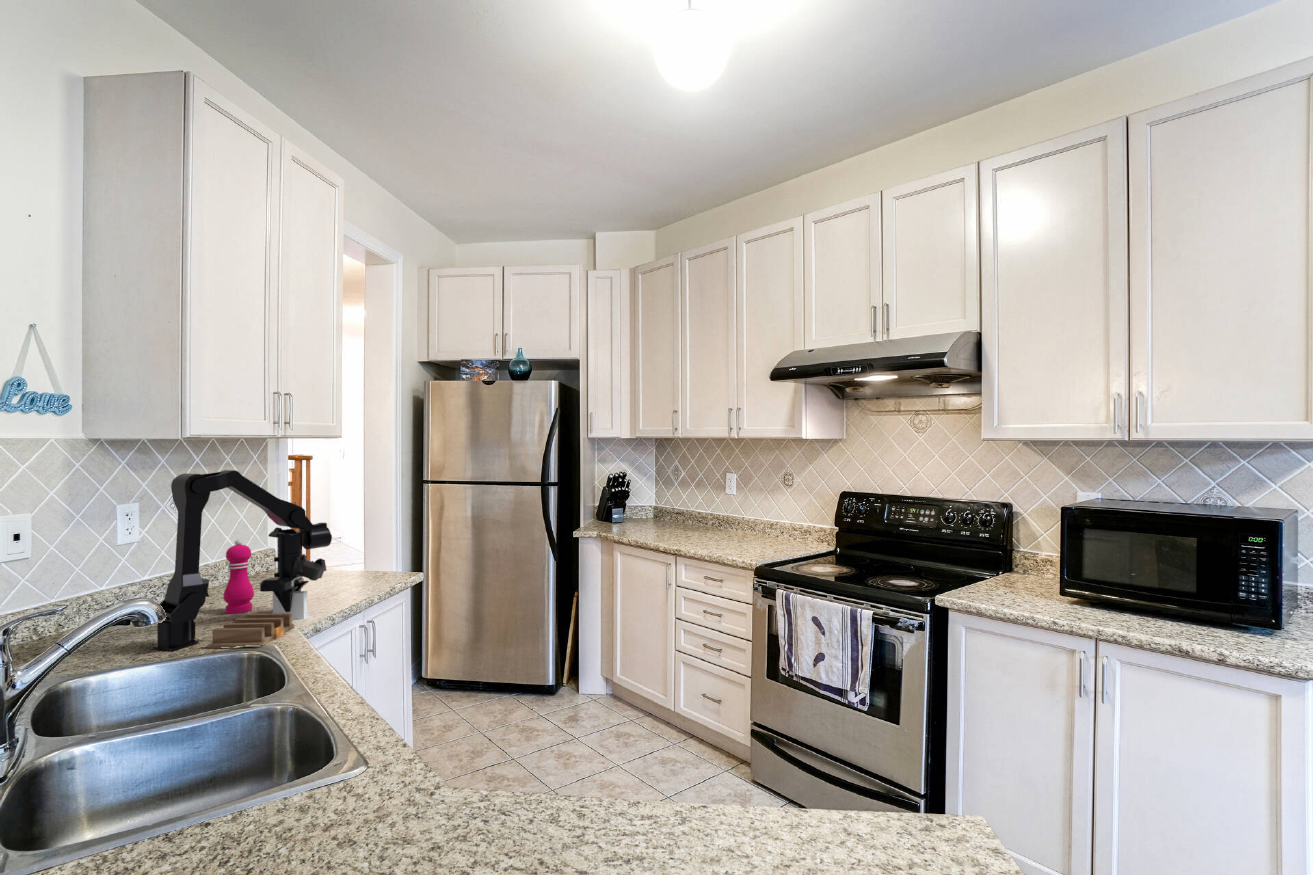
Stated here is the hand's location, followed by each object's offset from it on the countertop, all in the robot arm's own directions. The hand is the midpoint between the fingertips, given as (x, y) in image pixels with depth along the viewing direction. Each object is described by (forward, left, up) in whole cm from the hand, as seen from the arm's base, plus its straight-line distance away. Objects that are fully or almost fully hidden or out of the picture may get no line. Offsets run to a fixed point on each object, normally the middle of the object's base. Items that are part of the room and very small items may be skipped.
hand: (290, 610), depth 175 cm
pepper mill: (+2, +20, -2) cm, 20 cm away
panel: (0, 0, -2) cm, 2 cm away
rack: (-16, -6, -2) cm, 17 cm away
